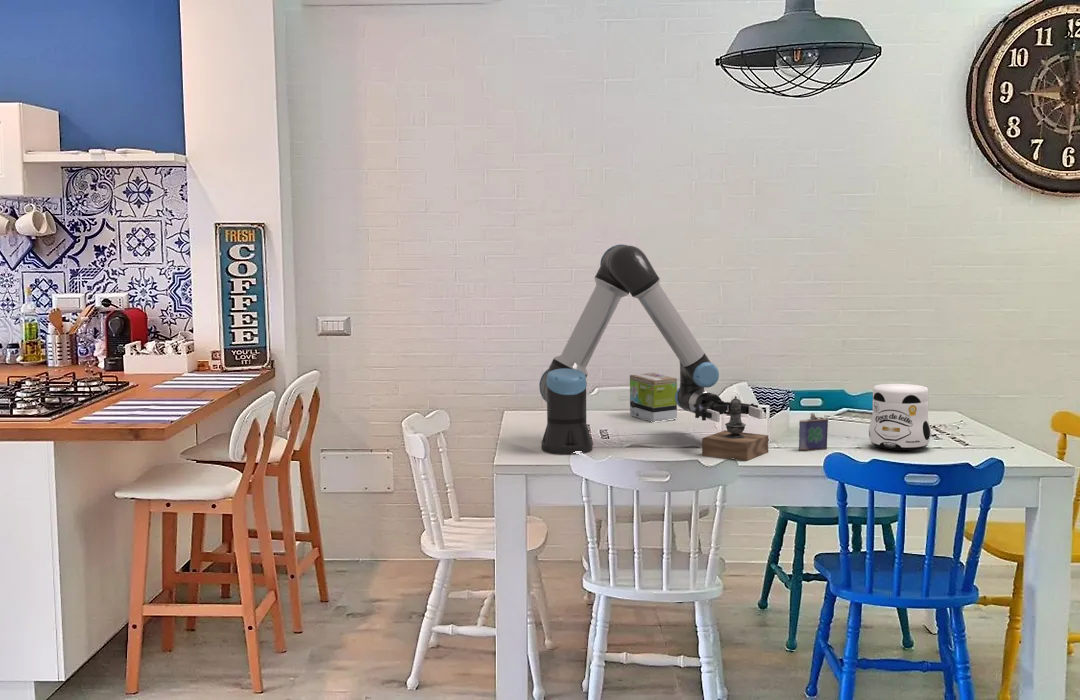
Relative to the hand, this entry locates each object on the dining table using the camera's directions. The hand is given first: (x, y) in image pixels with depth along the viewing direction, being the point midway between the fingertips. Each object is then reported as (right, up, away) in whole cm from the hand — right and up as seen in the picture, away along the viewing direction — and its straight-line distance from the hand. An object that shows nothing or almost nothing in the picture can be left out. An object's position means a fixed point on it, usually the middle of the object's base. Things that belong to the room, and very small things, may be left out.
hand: (739, 415), depth 316 cm
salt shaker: (-1, -6, +3) cm, 7 cm away
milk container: (+49, -10, +9) cm, 50 cm away
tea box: (-18, -5, +62) cm, 65 cm away
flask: (+23, -11, +9) cm, 27 cm away
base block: (-1, -11, +4) cm, 12 cm away
